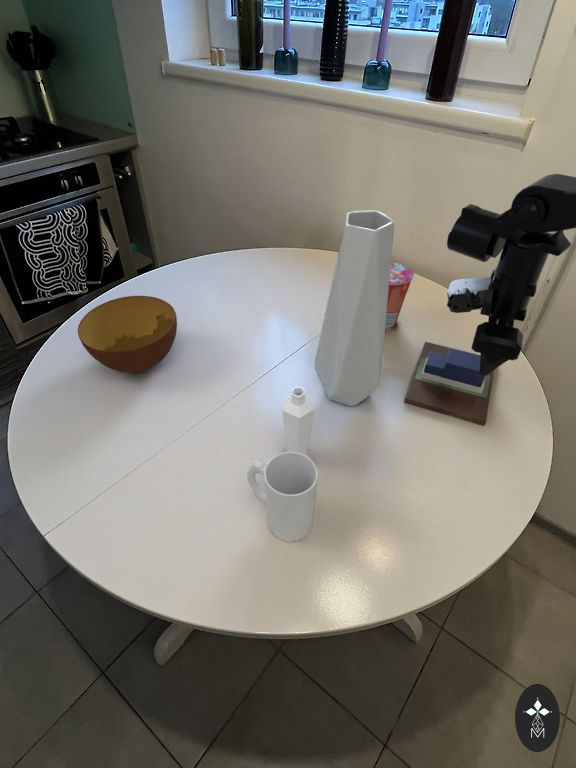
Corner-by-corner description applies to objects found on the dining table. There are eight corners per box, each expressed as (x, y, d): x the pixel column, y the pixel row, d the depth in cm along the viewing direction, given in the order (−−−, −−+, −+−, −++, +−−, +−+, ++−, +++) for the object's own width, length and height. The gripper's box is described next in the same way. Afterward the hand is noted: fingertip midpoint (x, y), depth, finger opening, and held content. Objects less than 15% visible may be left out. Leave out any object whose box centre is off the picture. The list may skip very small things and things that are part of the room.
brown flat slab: (494, 363, 90) (496, 358, 89) (484, 426, 78) (486, 421, 77) (423, 345, 94) (425, 340, 93) (403, 402, 82) (405, 397, 81)
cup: (380, 305, 105) (387, 258, 97) (411, 320, 101) (422, 272, 92) (355, 322, 100) (360, 274, 92) (386, 339, 96) (395, 290, 88)
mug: (322, 513, 66) (326, 463, 58) (301, 552, 62) (303, 504, 53) (262, 485, 69) (259, 435, 61) (239, 520, 65) (231, 471, 57)
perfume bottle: (316, 453, 74) (321, 387, 64) (302, 472, 71) (305, 406, 61) (292, 441, 76) (293, 375, 65) (278, 459, 73) (276, 394, 63)
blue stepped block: (484, 377, 85) (492, 357, 82) (481, 394, 82) (489, 374, 79) (425, 361, 88) (431, 342, 85) (420, 377, 85) (426, 358, 82)
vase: (394, 401, 82) (434, 227, 60) (340, 423, 79) (360, 246, 56) (357, 362, 90) (380, 195, 68) (306, 380, 86) (312, 210, 64)
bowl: (81, 394, 84) (63, 352, 77) (107, 336, 97) (94, 295, 90) (176, 392, 84) (166, 351, 77) (190, 335, 97) (182, 295, 90)
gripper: (467, 235, 73) (446, 317, 83) (448, 292, 60) (425, 379, 71) (543, 248, 69) (510, 331, 80) (538, 311, 57) (500, 399, 67)
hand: (486, 357), depth 75 cm, fingers open, 9 cm apart
